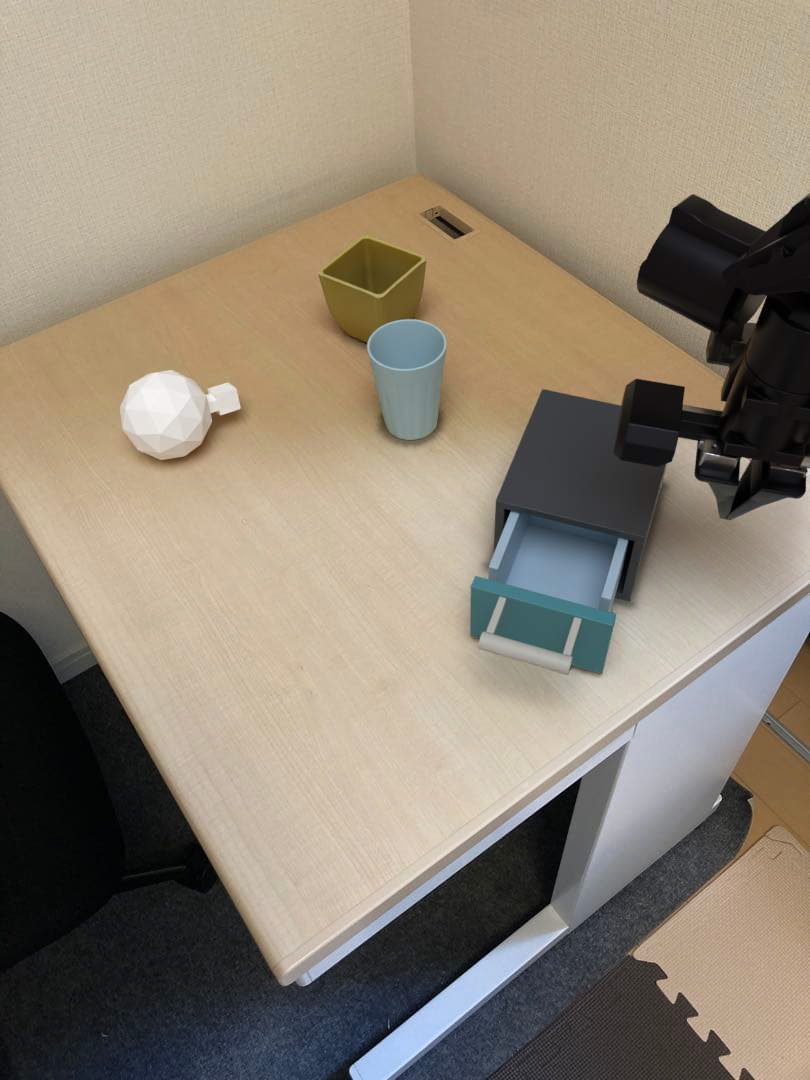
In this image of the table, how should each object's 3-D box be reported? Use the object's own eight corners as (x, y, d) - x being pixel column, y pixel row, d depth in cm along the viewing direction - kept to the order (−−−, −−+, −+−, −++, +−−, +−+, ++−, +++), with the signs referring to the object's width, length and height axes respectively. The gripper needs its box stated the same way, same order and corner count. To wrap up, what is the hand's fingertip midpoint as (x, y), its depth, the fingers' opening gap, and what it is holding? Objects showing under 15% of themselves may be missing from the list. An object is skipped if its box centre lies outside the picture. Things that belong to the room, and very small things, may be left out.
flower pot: (370, 299, 109) (364, 232, 102) (430, 323, 106) (428, 255, 99) (325, 339, 105) (315, 272, 98) (386, 365, 102) (380, 298, 95)
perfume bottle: (148, 485, 89) (259, 445, 94) (122, 399, 84) (241, 362, 89) (122, 455, 96) (227, 420, 101) (97, 374, 91) (208, 341, 96)
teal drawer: (587, 725, 72) (598, 677, 66) (451, 683, 75) (450, 634, 69) (636, 551, 82) (649, 497, 77) (514, 521, 85) (518, 466, 80)
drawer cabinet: (629, 601, 80) (645, 537, 73) (492, 565, 83) (495, 500, 76) (661, 484, 88) (678, 417, 81) (536, 455, 92) (542, 388, 85)
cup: (460, 408, 96) (459, 329, 88) (429, 456, 92) (425, 378, 84) (396, 389, 99) (390, 311, 91) (363, 435, 95) (353, 357, 87)
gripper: (944, 300, 59) (852, 458, 72) (653, 258, 62) (614, 417, 75) (958, 424, 53) (855, 572, 65) (634, 370, 56) (595, 522, 68)
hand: (725, 514), depth 69 cm, fingers closed
